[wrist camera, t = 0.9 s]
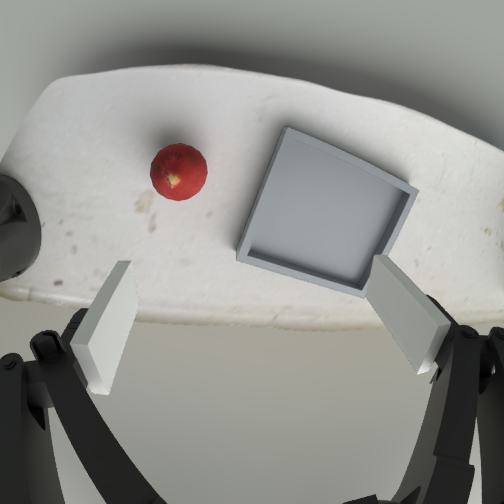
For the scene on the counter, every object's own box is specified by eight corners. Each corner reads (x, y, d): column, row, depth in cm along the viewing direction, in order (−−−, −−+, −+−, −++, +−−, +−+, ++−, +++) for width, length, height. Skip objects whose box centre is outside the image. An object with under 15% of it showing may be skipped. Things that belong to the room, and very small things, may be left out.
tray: (235, 251, 38) (236, 260, 36) (284, 126, 32) (288, 127, 30) (357, 289, 41) (364, 298, 39) (409, 185, 36) (419, 190, 33)
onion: (150, 173, 33) (128, 189, 26) (177, 131, 32) (161, 135, 24) (191, 200, 35) (180, 223, 28) (219, 159, 33) (216, 171, 26)
